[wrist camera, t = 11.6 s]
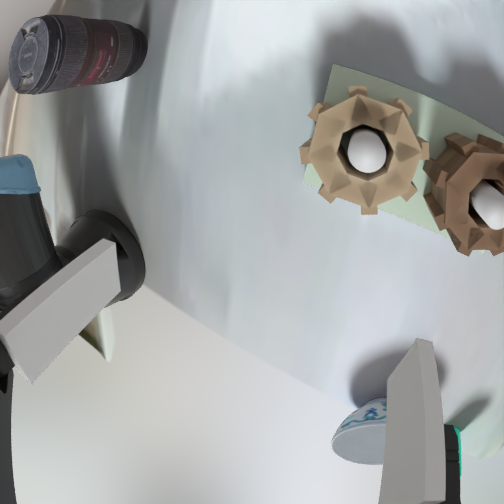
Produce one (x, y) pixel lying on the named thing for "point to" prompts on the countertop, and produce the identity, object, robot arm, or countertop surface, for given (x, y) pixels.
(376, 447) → the chinaware
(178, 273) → the countertop surface
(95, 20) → the camera lens
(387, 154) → the maple gear
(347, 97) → the gear board
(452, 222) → the walnut gear
